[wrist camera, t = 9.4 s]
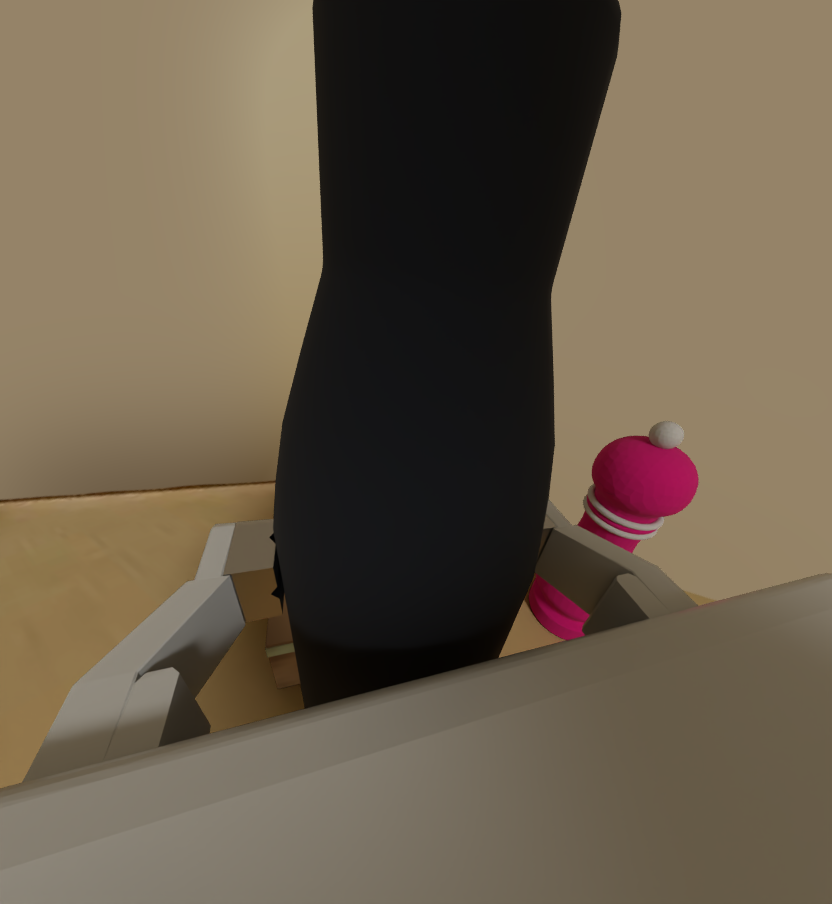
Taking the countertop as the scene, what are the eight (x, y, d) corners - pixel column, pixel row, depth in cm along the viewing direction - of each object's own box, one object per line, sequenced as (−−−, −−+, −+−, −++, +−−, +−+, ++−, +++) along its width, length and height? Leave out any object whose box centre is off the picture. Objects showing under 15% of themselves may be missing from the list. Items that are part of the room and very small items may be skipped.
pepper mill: (507, 594, 32) (587, 407, 21) (554, 565, 35) (644, 393, 24) (570, 665, 27) (717, 468, 16) (618, 623, 30) (765, 439, 19)
